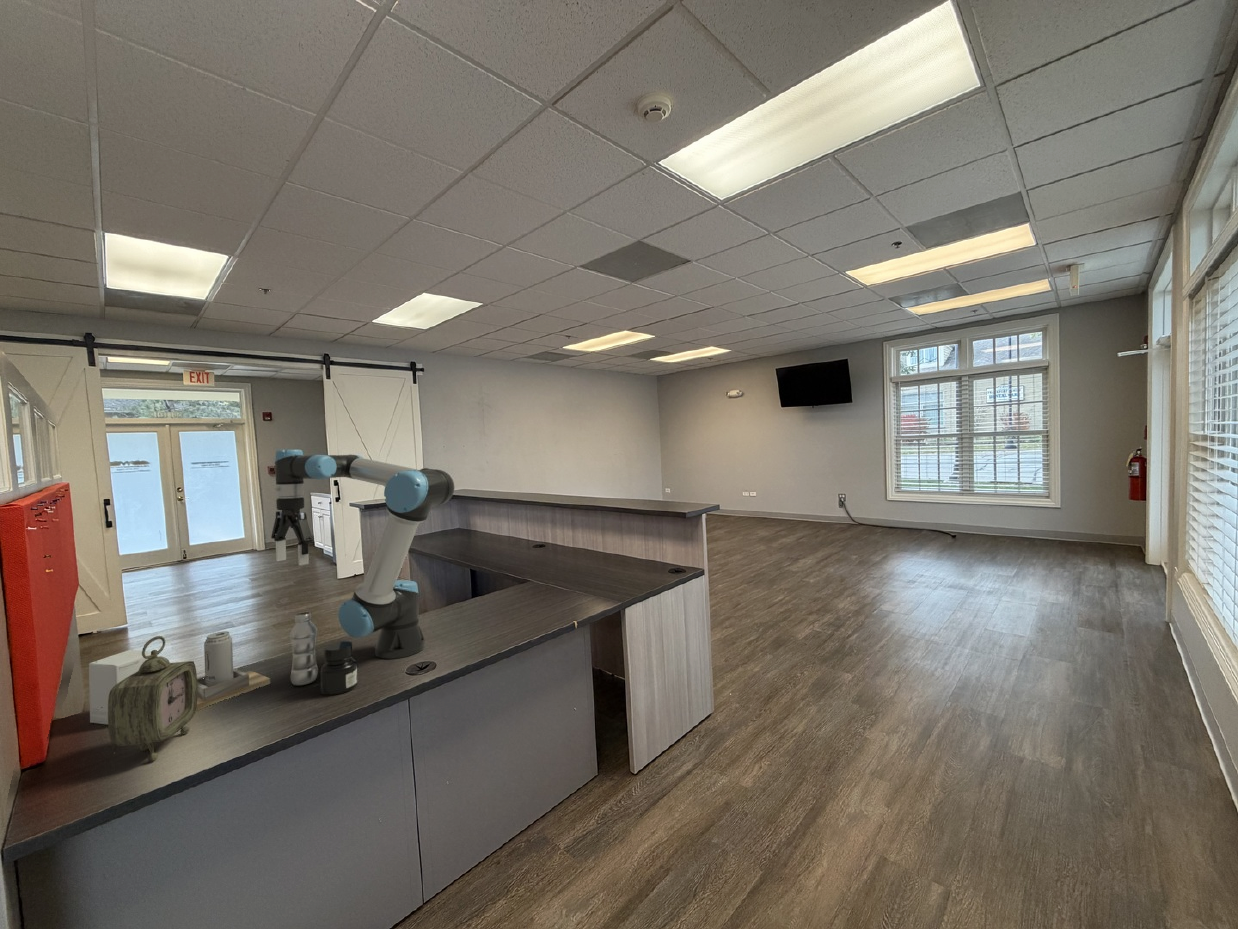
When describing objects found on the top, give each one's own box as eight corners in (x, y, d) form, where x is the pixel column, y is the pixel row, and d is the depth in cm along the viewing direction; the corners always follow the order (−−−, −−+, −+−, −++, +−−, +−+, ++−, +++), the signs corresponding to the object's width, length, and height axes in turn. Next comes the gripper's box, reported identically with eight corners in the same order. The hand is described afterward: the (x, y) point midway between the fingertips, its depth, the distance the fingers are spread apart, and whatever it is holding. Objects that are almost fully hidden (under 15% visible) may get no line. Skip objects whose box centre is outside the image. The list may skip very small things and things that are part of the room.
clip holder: (270, 683, 143) (269, 668, 143) (182, 716, 125) (181, 698, 125) (251, 675, 148) (250, 660, 148) (164, 705, 131) (163, 688, 131)
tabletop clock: (156, 765, 105) (152, 648, 105) (105, 772, 103) (101, 652, 103) (198, 728, 119) (195, 625, 119) (154, 733, 117) (150, 628, 117)
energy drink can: (202, 690, 136) (200, 635, 136) (228, 681, 141) (227, 629, 141) (210, 696, 133) (208, 640, 132) (237, 687, 137) (235, 633, 137)
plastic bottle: (287, 683, 142) (285, 614, 142) (314, 675, 147) (312, 608, 147) (294, 691, 138) (292, 619, 138) (321, 682, 143) (319, 613, 143)
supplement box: (117, 727, 121) (114, 665, 120) (89, 723, 122) (86, 663, 122) (158, 708, 130) (156, 651, 129) (131, 705, 131) (129, 649, 131)
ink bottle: (357, 691, 137) (356, 648, 137) (320, 699, 133) (319, 655, 133) (356, 677, 146) (355, 637, 145) (321, 685, 141) (320, 643, 141)
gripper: (257, 496, 164) (259, 561, 164) (299, 499, 151) (301, 568, 152) (282, 495, 170) (284, 556, 171) (324, 497, 158) (325, 564, 158)
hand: (292, 562), depth 161 cm, fingers open, 13 cm apart
